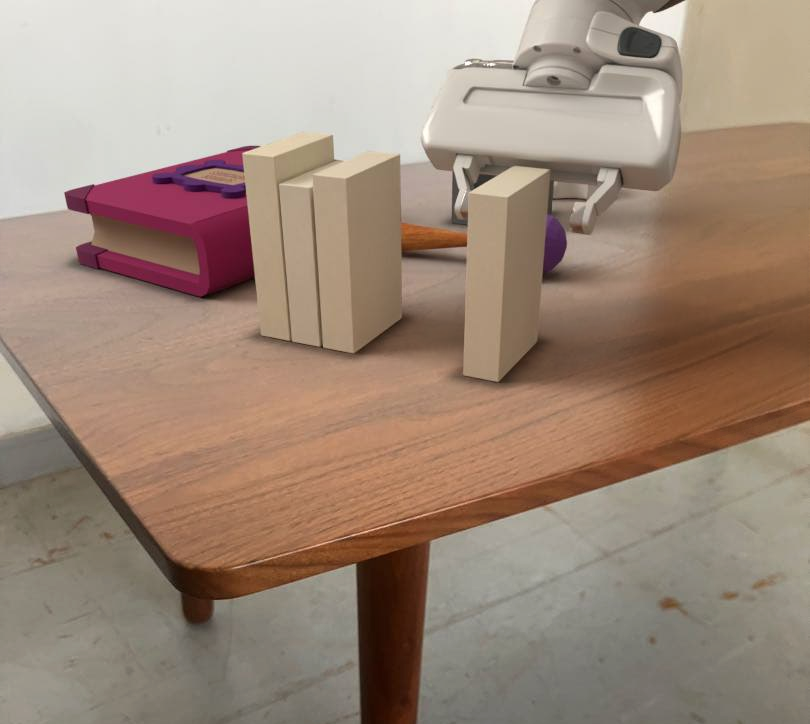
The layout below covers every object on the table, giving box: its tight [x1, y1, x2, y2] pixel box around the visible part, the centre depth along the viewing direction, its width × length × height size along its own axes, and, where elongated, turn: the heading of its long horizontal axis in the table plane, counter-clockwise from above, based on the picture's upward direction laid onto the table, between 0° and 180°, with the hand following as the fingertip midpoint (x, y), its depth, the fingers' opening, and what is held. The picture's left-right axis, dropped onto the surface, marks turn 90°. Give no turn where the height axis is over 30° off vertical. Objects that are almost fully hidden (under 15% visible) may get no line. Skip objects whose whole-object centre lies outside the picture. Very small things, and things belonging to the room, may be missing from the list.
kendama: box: [401, 214, 568, 275], centre depth 94 cm, size 6×6×20 cm
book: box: [63, 145, 342, 298], centre depth 99 cm, size 21×28×8 cm
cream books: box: [242, 131, 403, 354], centre depth 77 cm, size 9×9×15 cm
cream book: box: [462, 166, 551, 383], centre depth 72 cm, size 3×9×14 cm, turn 154°
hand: (520, 223), depth 71 cm, fingers open, 8 cm apart
